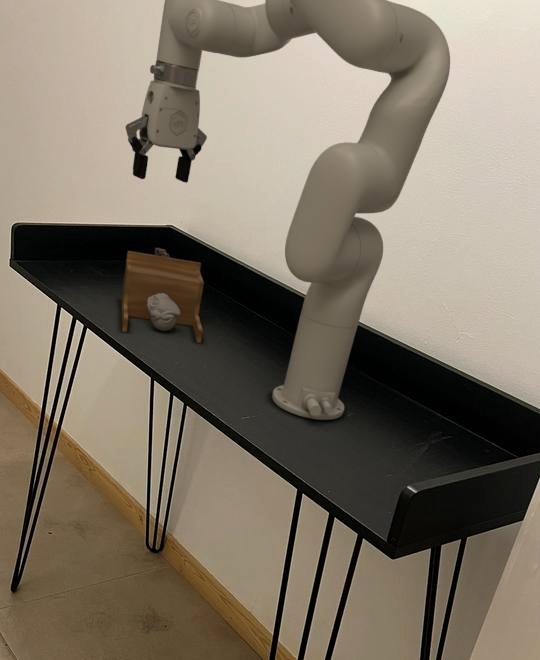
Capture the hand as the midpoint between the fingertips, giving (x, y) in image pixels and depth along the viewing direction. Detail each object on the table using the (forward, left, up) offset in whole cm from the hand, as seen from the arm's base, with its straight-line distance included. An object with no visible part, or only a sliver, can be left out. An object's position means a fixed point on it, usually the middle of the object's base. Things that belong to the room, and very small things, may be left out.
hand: (160, 179), depth 155 cm
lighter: (+20, -4, -27) cm, 34 cm away
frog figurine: (-4, -4, -27) cm, 28 cm away
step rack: (+2, -4, -27) cm, 27 cm away
